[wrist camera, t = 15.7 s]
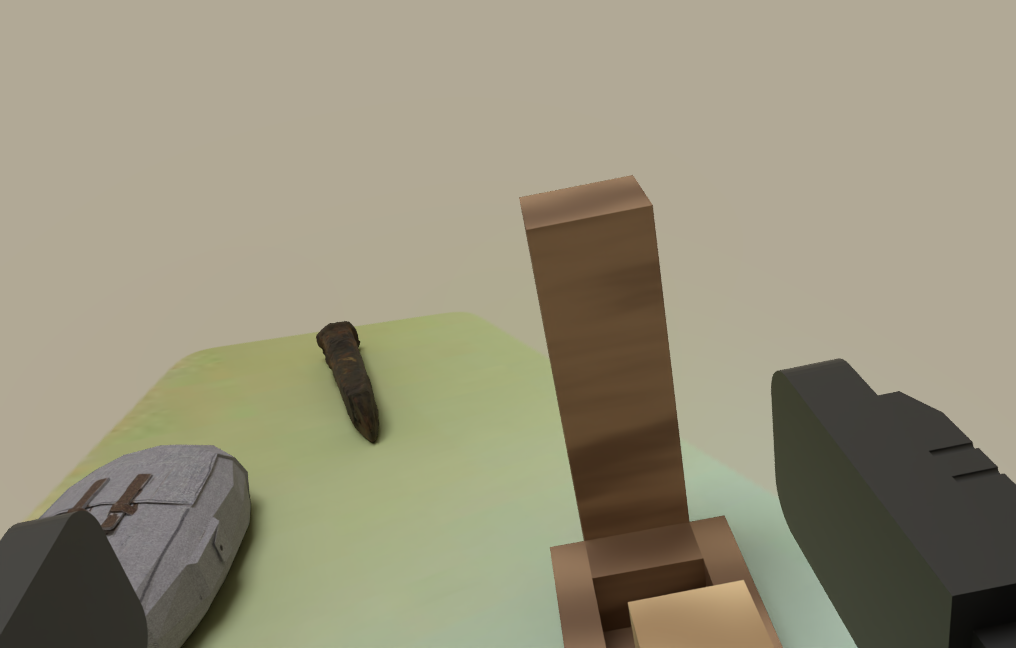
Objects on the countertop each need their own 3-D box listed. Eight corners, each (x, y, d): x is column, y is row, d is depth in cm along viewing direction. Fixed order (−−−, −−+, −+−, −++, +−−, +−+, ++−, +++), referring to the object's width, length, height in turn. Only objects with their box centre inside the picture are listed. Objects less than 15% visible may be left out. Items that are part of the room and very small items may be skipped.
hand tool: (324, 360, 87) (310, 321, 85) (362, 348, 88) (349, 309, 86) (343, 458, 70) (327, 411, 68) (390, 442, 71) (375, 396, 69)
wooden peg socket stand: (936, 1088, 29) (979, 539, 18) (642, 1135, 29) (515, 623, 18) (708, 526, 55) (670, 167, 44) (555, 554, 55) (481, 204, 44)
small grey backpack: (201, 689, 51) (292, 481, 68) (149, 584, 47) (260, 393, 65) (-28, 710, 52) (119, 503, 70) (-95, 612, 49) (78, 419, 67)
